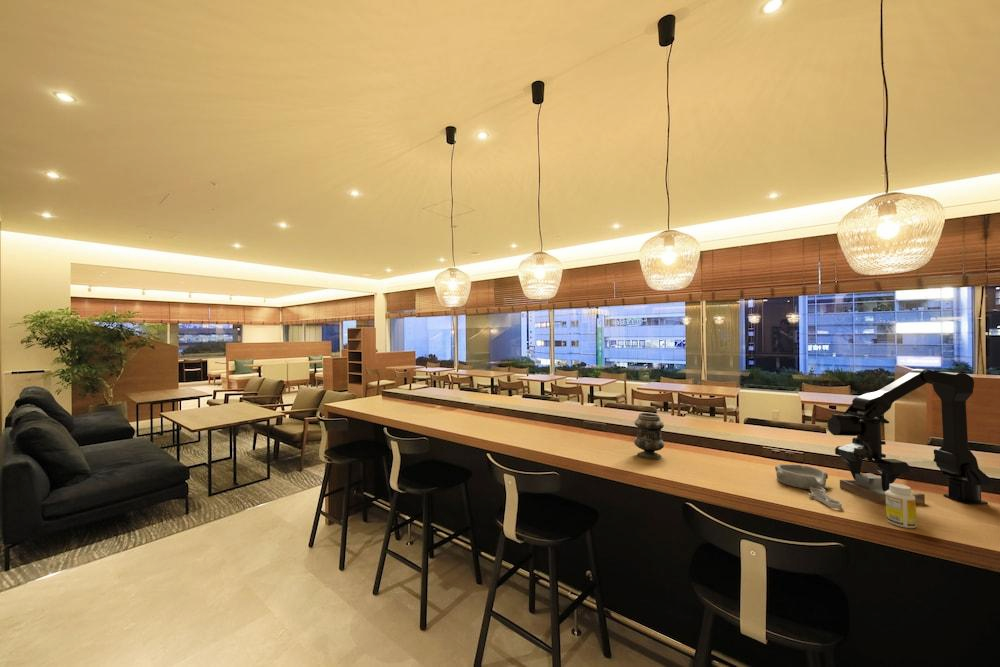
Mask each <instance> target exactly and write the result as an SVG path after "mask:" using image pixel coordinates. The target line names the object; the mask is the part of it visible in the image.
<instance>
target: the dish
mask: <svg viewBox="0 0 1000 667" xmlns="http://www.w3.org/2000/svg"><path fill="white" fill-rule="evenodd" d="M774 469H775V473H776V479H777V480H778V482H781V484H784V485H787V486H790V487H795V488H798V489H805V490H810V486H811V487H812V488H816V486H819V487H822V488H824V489H825V487H826V482H827V480H828V477H829V473H827V472H826V471H824V470H822V469H819V468H817V467H813V466H809V465H801V464H791V463H789V464H788V463H787V464H784V463H783V464H782V463H781V464H779V465H775V467H774Z"/></svg>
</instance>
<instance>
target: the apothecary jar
mask: <svg viewBox="0 0 1000 667" xmlns="http://www.w3.org/2000/svg"><path fill="white" fill-rule="evenodd" d="M634 426H636V427H637V433H636V434H637V435H636V437H635V439H634V440H633V442H634V445H635V446H636V447H637V448H639V449H641V450H643V451H640V452H637V454H636V456H637V457H639V458H641V459H645V460H653V461H654V460H660V459H662V455H661V454H660V453H657V451H661V450H662V449H663V448H664V447H665V443H664V440H663V439H662V429H663V428H664V426H665V423H664V422H663V420H662V419H661V416H660V415H659V414H658V413H651V412H639V413H638V417H637V418H636V419H635V420H634Z"/></svg>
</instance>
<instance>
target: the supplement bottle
mask: <svg viewBox="0 0 1000 667" xmlns="http://www.w3.org/2000/svg"><path fill="white" fill-rule="evenodd" d="M889 488H890V490H887V491H886V504H885V514H886V516H885V518H886V520H887V522H889V523H890V524H891V525H893V526H897V527H899V528H900V527H901V528H906V529H915V528H916V527H917V509H916V508H917V506H916V499H915V496H913V495H912V494H913V493H912V488H911V487H910V486H908V485H905V484H901V483H895V482H893V483H891V484H889Z"/></svg>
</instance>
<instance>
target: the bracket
mask: <svg viewBox="0 0 1000 667" xmlns="http://www.w3.org/2000/svg"><path fill="white" fill-rule="evenodd" d="M809 491H810V492H811V493H810V492H807V494H808V497H809V498H811V499H813V500H815V501H818V502H821V503H823V504H824V505H825V506H827V507H828V508H832V509H837V510H841V509H842V508H843V504H842V501H839V500H836V499H834V498H831V497H830V496H828V495H827V490H826V489H825V487H824V488H822V487H819V486H816V488H812V487H811V486H810V489H809Z"/></svg>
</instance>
